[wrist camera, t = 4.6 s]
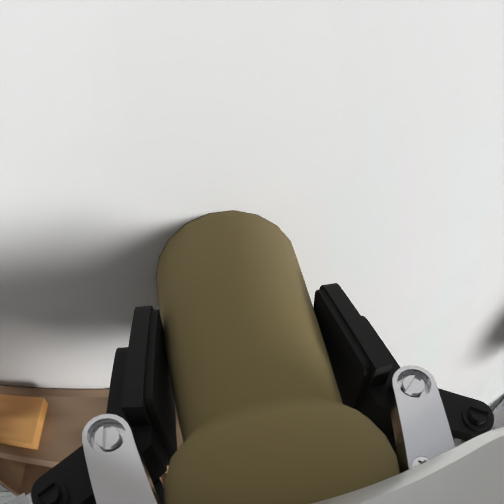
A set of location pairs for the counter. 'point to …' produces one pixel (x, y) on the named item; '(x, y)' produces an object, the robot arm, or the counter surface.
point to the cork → (254, 374)
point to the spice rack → (45, 430)
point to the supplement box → (6, 497)
